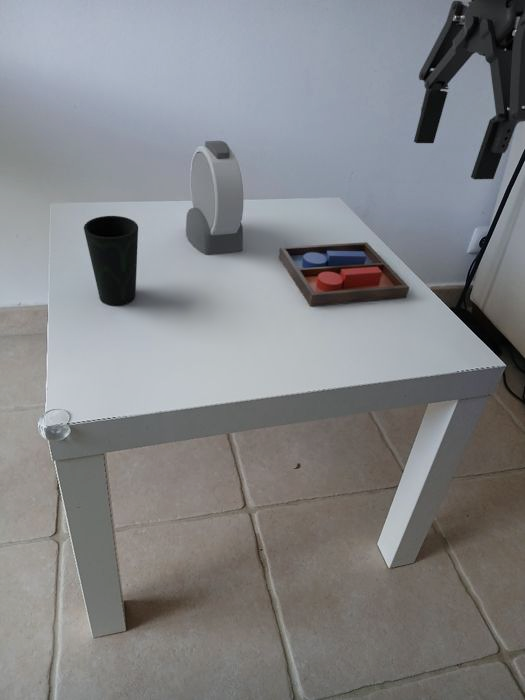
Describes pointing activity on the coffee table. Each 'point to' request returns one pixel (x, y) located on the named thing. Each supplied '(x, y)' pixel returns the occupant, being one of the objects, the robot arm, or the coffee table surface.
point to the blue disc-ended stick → (333, 259)
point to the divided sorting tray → (307, 277)
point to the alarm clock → (215, 200)
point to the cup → (113, 257)
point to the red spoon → (349, 278)
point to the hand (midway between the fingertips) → (450, 159)
